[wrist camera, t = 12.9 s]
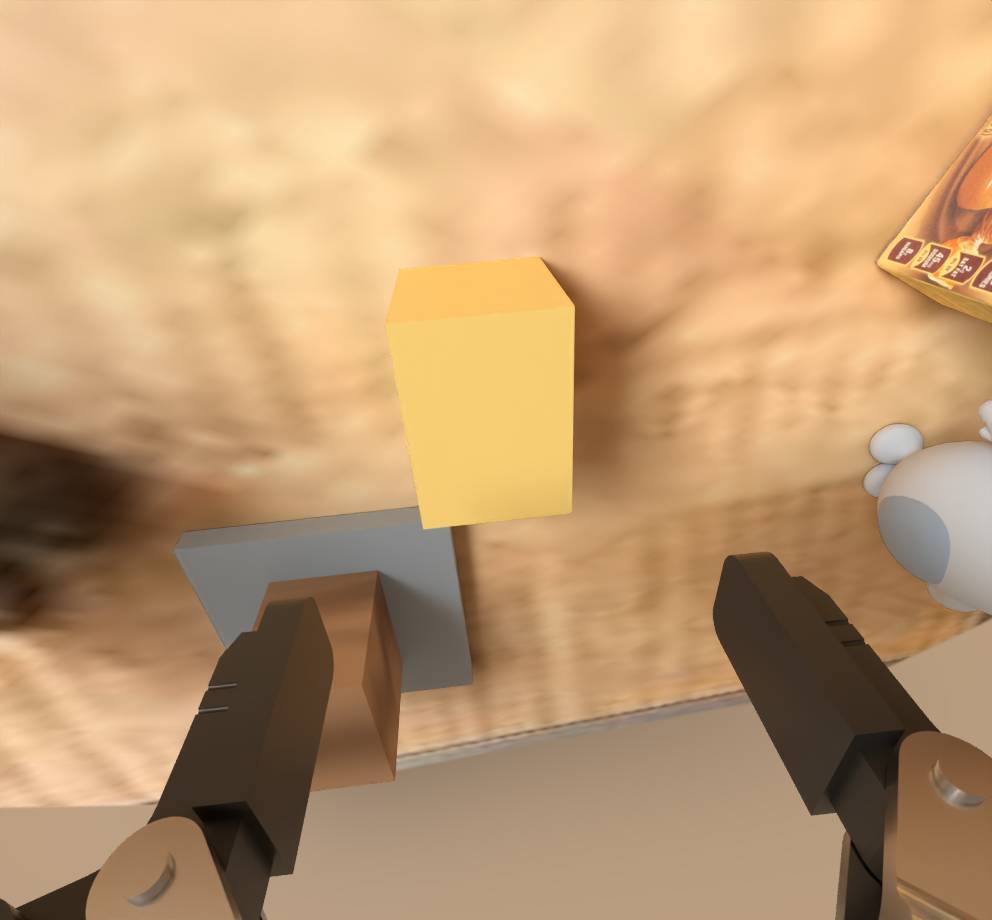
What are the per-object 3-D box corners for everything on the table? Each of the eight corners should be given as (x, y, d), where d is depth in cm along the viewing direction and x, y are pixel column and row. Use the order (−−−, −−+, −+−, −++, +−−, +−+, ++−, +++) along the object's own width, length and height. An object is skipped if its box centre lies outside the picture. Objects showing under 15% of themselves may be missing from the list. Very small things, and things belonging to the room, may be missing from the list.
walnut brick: (269, 582, 25) (225, 702, 20) (377, 570, 25) (361, 685, 20) (309, 675, 28) (281, 795, 23) (402, 663, 29) (394, 780, 24)
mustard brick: (399, 268, 19) (384, 324, 14) (538, 256, 19) (574, 306, 14) (426, 438, 23) (423, 529, 18) (542, 426, 23) (571, 512, 18)
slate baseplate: (183, 531, 24) (172, 550, 23) (448, 503, 24) (448, 519, 23) (264, 690, 31) (258, 709, 30) (471, 665, 31) (473, 683, 30)
